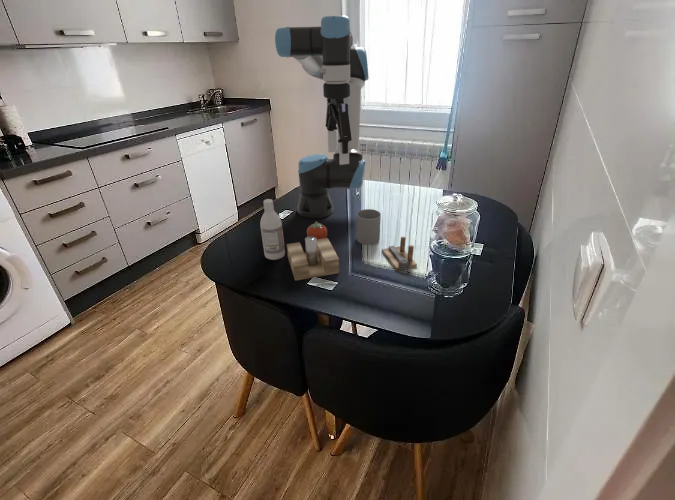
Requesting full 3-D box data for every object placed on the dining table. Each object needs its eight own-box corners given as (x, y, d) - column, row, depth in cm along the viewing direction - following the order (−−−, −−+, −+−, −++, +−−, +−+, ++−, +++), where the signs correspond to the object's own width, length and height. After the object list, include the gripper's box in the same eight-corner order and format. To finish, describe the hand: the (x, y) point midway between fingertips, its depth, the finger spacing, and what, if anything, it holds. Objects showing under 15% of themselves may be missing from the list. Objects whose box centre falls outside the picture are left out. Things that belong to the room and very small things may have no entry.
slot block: (288, 257, 122) (286, 244, 119) (328, 251, 125) (327, 237, 122) (295, 280, 110) (293, 266, 107) (339, 272, 113) (338, 258, 110)
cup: (378, 245, 127) (379, 220, 122) (355, 243, 129) (355, 218, 124) (380, 234, 134) (381, 209, 129) (358, 232, 136) (358, 208, 131)
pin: (305, 261, 118) (303, 237, 113) (316, 259, 119) (315, 235, 114) (308, 267, 115) (306, 242, 110) (319, 265, 116) (317, 240, 111)
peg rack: (382, 251, 123) (382, 236, 120) (401, 248, 125) (402, 233, 122) (397, 272, 113) (398, 255, 110) (418, 268, 114) (419, 252, 111)
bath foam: (288, 257, 122) (282, 202, 112) (268, 262, 119) (260, 206, 109) (281, 248, 127) (275, 194, 117) (262, 252, 125) (254, 198, 114)
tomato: (331, 238, 132) (330, 218, 128) (322, 248, 127) (321, 227, 123) (313, 235, 135) (312, 215, 131) (303, 244, 129) (302, 224, 125)
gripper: (314, 78, 110) (317, 148, 121) (334, 87, 89) (337, 171, 100) (337, 77, 112) (339, 146, 122) (363, 86, 91) (362, 168, 102)
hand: (338, 157), depth 111 cm, fingers open, 13 cm apart
